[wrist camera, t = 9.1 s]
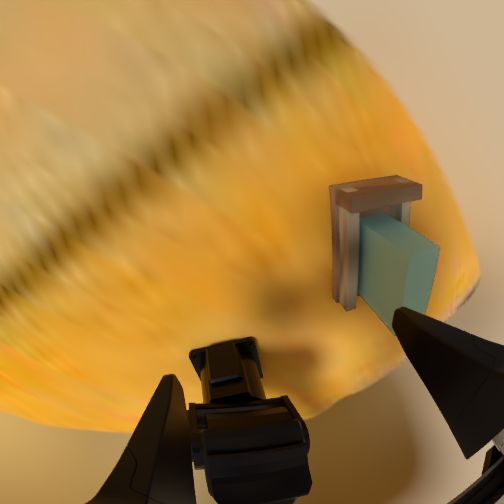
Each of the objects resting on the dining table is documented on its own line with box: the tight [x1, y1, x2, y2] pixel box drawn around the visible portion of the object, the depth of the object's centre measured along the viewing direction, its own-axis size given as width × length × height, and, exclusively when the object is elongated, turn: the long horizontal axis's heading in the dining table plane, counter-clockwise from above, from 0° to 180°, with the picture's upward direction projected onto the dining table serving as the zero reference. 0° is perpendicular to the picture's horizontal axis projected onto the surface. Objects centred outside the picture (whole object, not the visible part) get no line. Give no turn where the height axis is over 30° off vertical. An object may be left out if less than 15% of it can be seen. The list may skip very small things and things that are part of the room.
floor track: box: [329, 175, 422, 312], centre depth 22 cm, size 11×7×3 cm, turn 10°
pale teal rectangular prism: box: [357, 213, 440, 336], centre depth 20 cm, size 7×3×7 cm, turn 9°
